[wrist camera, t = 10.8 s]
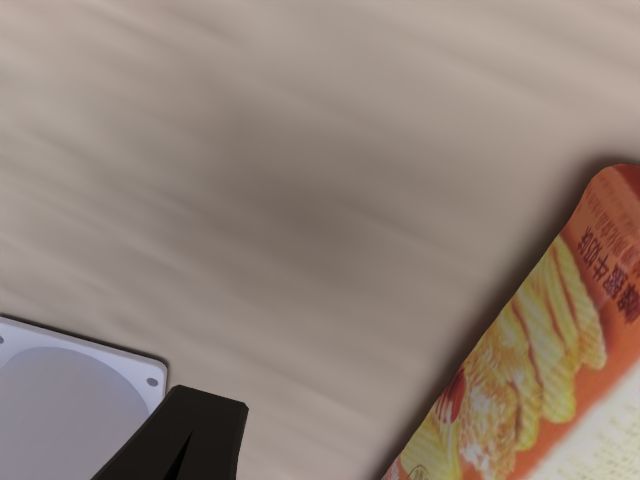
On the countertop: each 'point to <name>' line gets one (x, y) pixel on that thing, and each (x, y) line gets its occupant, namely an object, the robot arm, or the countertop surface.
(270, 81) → the countertop surface
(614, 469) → the snack package
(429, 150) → the countertop surface
